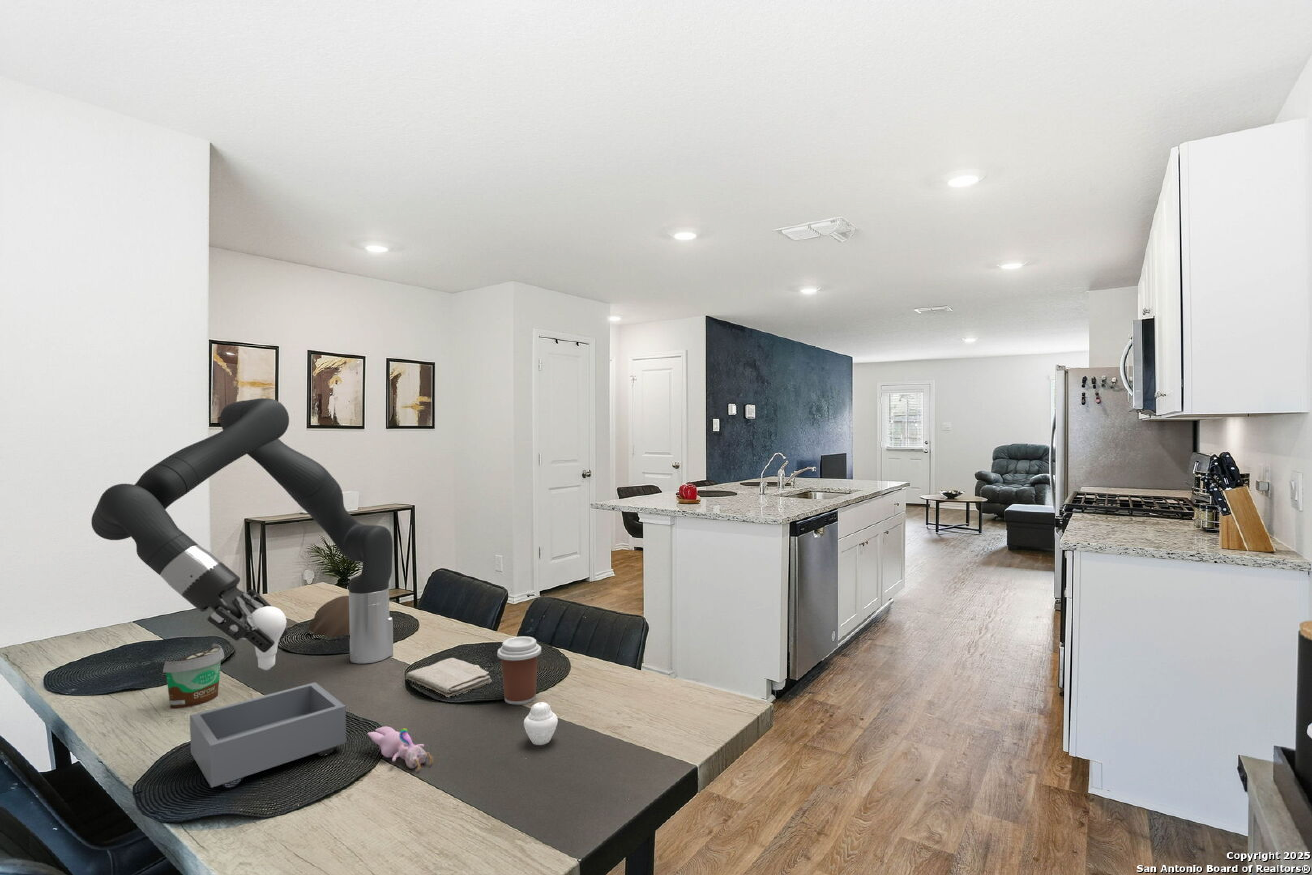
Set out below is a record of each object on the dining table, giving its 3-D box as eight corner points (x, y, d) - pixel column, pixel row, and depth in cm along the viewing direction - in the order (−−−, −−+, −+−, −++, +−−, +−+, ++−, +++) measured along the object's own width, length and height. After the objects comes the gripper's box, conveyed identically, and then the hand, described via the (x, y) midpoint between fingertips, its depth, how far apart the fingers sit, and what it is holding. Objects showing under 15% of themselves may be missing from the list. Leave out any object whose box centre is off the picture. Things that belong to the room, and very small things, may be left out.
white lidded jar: (542, 752, 113) (541, 712, 113) (516, 743, 116) (515, 705, 116) (565, 737, 118) (564, 699, 118) (539, 730, 122) (539, 693, 122)
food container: (188, 713, 131) (187, 664, 131) (163, 711, 133) (162, 662, 132) (239, 689, 143) (238, 644, 143) (215, 687, 145) (214, 643, 145)
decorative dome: (292, 641, 177) (291, 604, 177) (332, 620, 197) (332, 587, 197) (360, 641, 176) (360, 605, 176) (394, 620, 196) (393, 587, 196)
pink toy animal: (440, 768, 111) (386, 733, 119) (443, 735, 111) (389, 702, 118) (408, 785, 106) (354, 747, 114) (412, 750, 105) (357, 715, 113)
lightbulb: (295, 665, 115) (294, 603, 115) (264, 678, 109) (263, 612, 109) (269, 662, 117) (268, 601, 117) (237, 673, 111) (236, 609, 111)
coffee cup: (550, 693, 139) (549, 637, 139) (525, 710, 130) (524, 650, 130) (516, 687, 143) (515, 632, 142) (488, 702, 134) (487, 645, 134)
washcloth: (449, 701, 136) (449, 687, 136) (403, 682, 148) (403, 668, 147) (495, 684, 146) (495, 670, 146) (448, 667, 157) (448, 654, 157)
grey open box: (316, 723, 126) (315, 682, 126) (346, 751, 115) (345, 705, 115) (190, 761, 112) (189, 714, 112) (211, 797, 100) (210, 745, 100)
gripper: (196, 570, 104) (278, 638, 107) (236, 553, 119) (307, 614, 121) (160, 605, 104) (243, 673, 106) (204, 584, 118) (277, 645, 120)
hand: (277, 641), depth 113 cm, fingers closed on lightbulb, 6 cm apart
